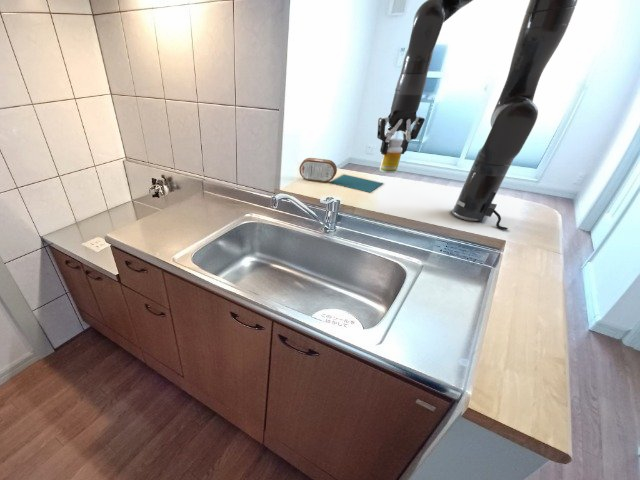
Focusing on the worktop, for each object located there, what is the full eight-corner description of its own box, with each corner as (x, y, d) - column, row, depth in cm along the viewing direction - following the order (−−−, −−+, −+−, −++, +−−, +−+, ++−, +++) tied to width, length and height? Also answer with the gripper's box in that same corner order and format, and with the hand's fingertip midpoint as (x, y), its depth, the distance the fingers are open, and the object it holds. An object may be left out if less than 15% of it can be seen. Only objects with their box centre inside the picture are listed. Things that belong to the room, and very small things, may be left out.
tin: (335, 181, 133) (338, 160, 128) (333, 183, 131) (337, 162, 125) (299, 177, 138) (301, 156, 133) (297, 179, 136) (299, 158, 130)
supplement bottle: (398, 173, 106) (408, 141, 100) (382, 173, 106) (390, 141, 100) (392, 168, 110) (401, 137, 104) (377, 168, 110) (384, 137, 104)
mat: (382, 183, 132) (382, 183, 131) (369, 192, 124) (369, 191, 124) (344, 175, 140) (344, 174, 140) (329, 182, 132) (329, 182, 132)
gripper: (390, 94, 91) (375, 157, 101) (439, 93, 92) (419, 156, 102) (379, 91, 96) (366, 151, 107) (425, 90, 97) (407, 150, 108)
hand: (392, 153), depth 104 cm, fingers closed on supplement bottle, 5 cm apart
